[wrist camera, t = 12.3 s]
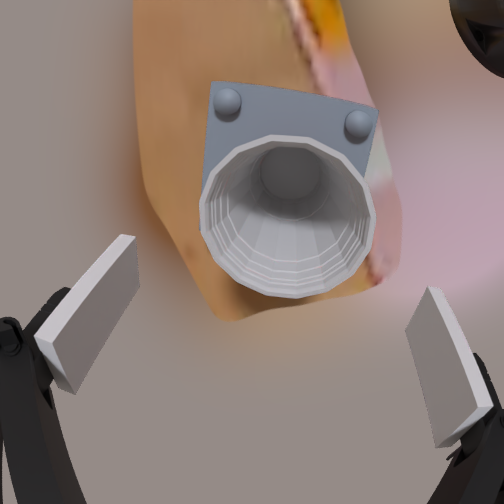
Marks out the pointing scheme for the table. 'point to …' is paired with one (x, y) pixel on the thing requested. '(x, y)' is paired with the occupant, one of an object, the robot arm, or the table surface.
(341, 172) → the plastic cup
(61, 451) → the robot arm
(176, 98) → the table surface
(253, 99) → the base block
